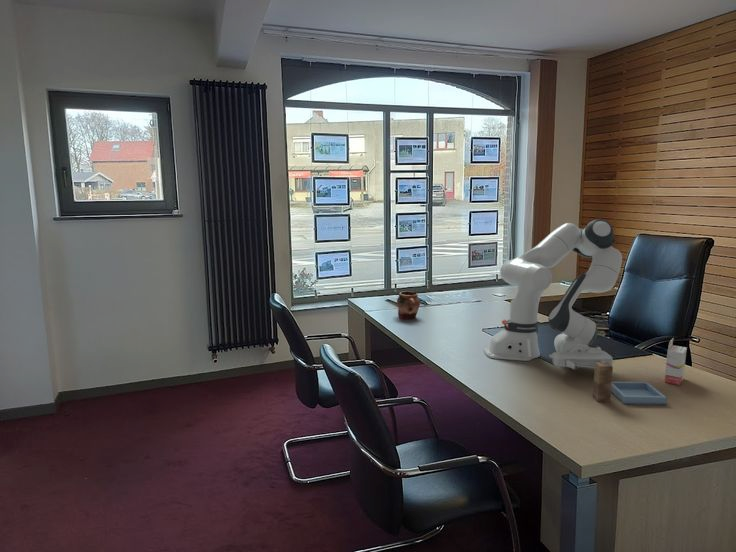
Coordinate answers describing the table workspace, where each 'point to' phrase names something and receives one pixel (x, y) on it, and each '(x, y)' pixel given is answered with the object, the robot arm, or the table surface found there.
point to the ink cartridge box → (675, 364)
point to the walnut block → (602, 382)
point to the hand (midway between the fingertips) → (589, 367)
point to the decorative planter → (408, 305)
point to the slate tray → (637, 393)
